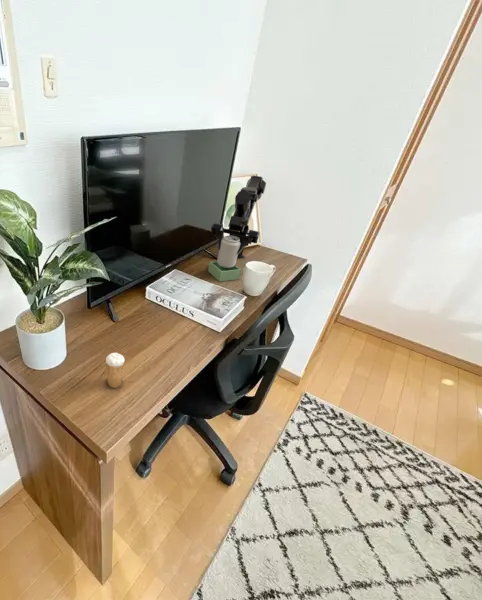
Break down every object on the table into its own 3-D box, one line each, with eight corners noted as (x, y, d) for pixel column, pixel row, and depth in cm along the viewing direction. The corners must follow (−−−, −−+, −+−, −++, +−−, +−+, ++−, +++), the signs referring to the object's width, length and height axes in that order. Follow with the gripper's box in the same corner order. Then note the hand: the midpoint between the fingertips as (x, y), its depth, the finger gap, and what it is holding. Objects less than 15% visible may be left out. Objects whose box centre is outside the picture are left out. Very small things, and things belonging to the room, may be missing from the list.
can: (238, 267, 132) (245, 240, 125) (222, 269, 130) (229, 242, 123) (228, 260, 138) (234, 233, 131) (213, 261, 136) (218, 235, 129)
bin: (226, 269, 141) (228, 259, 139) (238, 279, 134) (241, 269, 131) (207, 271, 138) (209, 261, 136) (219, 281, 131) (221, 271, 129)
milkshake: (119, 394, 79) (121, 364, 73) (101, 384, 81) (102, 355, 76) (129, 382, 82) (131, 353, 77) (111, 374, 84) (112, 345, 79)
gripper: (216, 203, 127) (204, 237, 125) (265, 211, 120) (253, 248, 118) (217, 217, 138) (206, 249, 135) (262, 225, 131) (251, 259, 128)
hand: (228, 251), depth 129 cm, fingers closed on can, 7 cm apart
